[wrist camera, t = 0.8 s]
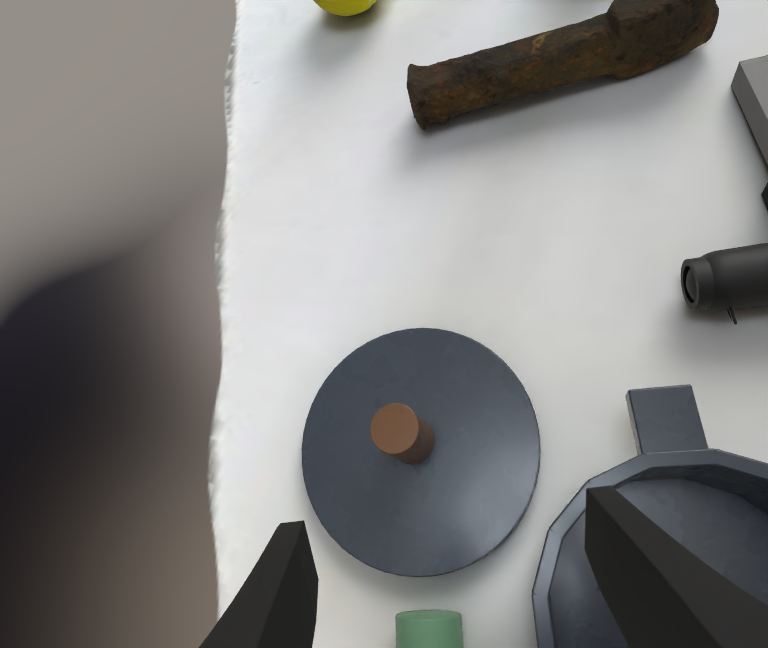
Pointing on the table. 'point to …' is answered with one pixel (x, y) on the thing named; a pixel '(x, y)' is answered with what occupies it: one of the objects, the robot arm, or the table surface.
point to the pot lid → (421, 452)
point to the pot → (657, 518)
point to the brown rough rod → (562, 57)
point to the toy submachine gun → (743, 264)
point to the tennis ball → (345, 6)
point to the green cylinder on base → (429, 629)
